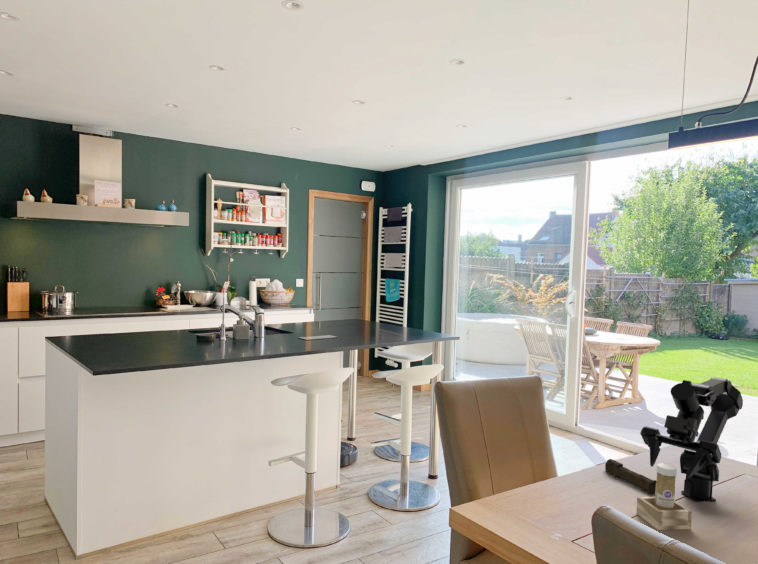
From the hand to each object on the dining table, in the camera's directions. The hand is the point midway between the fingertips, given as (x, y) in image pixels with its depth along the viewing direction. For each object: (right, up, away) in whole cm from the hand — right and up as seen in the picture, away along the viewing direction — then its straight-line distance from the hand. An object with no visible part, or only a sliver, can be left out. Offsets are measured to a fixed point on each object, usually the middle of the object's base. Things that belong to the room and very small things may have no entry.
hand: (669, 470), depth 143 cm
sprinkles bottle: (-2, -12, -1) cm, 12 cm away
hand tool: (0, -12, +25) cm, 28 cm away
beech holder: (-2, -13, -1) cm, 13 cm away
